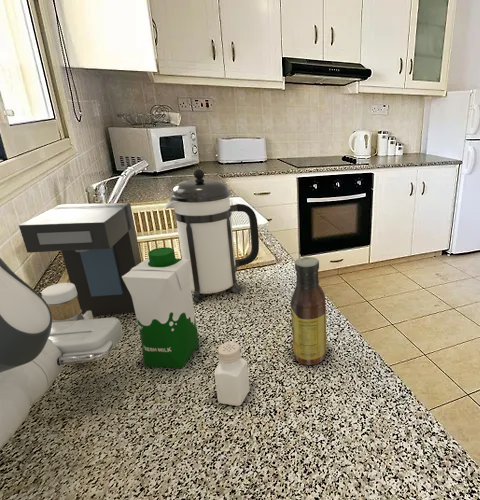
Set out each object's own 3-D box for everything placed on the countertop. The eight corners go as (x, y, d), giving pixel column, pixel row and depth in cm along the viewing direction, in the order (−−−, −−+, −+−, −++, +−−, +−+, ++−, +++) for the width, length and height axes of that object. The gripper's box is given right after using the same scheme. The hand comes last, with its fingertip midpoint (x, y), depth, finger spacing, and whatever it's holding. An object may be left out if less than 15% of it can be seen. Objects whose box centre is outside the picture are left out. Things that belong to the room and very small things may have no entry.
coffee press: (225, 309, 85) (210, 177, 74) (167, 298, 89) (144, 172, 78) (262, 278, 101) (255, 165, 90) (211, 269, 105) (198, 161, 94)
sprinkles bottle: (74, 346, 69) (55, 281, 64) (99, 347, 69) (81, 281, 64) (55, 362, 65) (33, 293, 60) (81, 363, 64) (60, 294, 60)
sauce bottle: (303, 343, 74) (300, 250, 66) (332, 351, 72) (332, 255, 64) (286, 363, 68) (281, 263, 61) (317, 372, 66) (316, 270, 59)
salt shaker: (251, 390, 62) (246, 341, 58) (240, 408, 58) (235, 357, 54) (228, 386, 62) (223, 338, 59) (216, 404, 58) (209, 354, 55)
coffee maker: (55, 345, 71) (17, 226, 63) (87, 307, 84) (59, 204, 76) (129, 338, 74) (103, 222, 65) (149, 302, 87) (130, 202, 78)
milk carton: (205, 341, 73) (192, 247, 66) (184, 372, 65) (166, 268, 58) (162, 339, 74) (143, 245, 66) (135, 370, 65) (111, 266, 58)
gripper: (99, 340, 53) (131, 294, 66) (-74, 356, 49) (-5, 304, 62) (109, 376, 55) (138, 325, 68) (-56, 394, 51) (7, 337, 64)
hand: (69, 315), depth 65 cm, fingers closed on sprinkles bottle, 4 cm apart
